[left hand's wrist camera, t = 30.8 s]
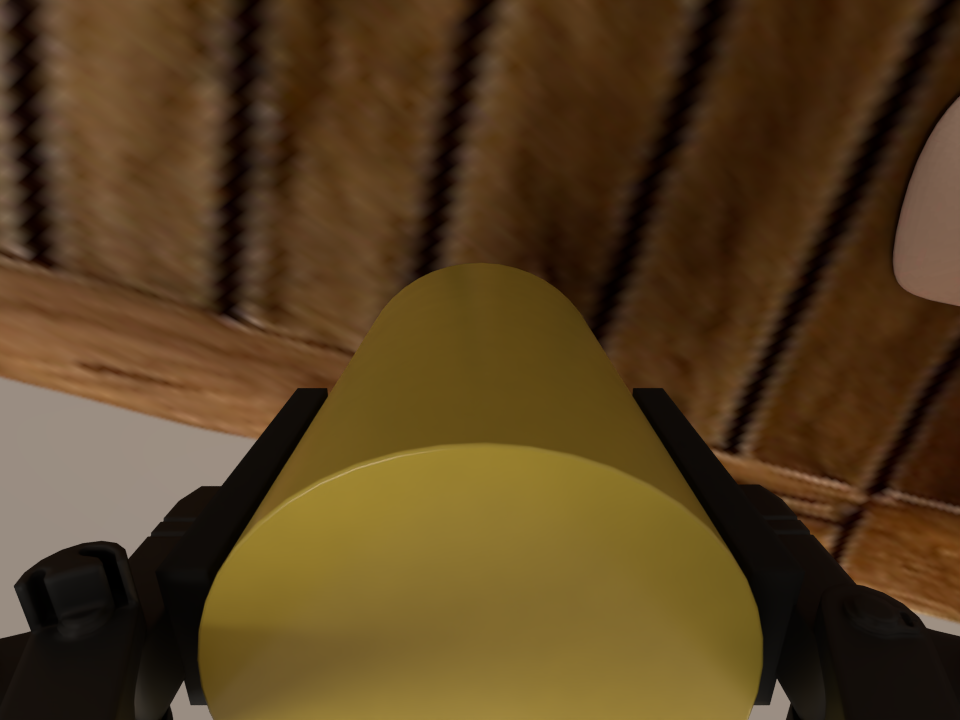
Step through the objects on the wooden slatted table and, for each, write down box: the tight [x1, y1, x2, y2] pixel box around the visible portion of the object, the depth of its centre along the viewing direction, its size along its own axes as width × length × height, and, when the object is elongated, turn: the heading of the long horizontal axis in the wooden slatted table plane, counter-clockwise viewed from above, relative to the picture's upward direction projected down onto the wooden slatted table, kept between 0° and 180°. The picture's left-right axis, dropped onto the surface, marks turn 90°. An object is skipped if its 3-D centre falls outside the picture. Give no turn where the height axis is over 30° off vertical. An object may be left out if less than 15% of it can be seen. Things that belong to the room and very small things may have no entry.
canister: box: [198, 263, 763, 720], centre depth 13 cm, size 8×8×11 cm
